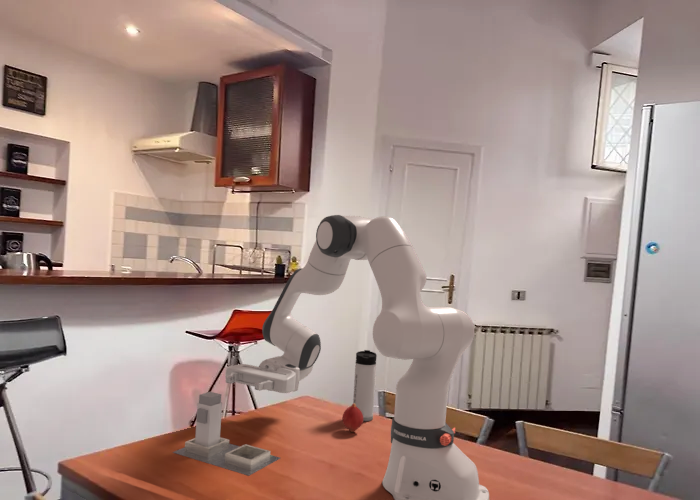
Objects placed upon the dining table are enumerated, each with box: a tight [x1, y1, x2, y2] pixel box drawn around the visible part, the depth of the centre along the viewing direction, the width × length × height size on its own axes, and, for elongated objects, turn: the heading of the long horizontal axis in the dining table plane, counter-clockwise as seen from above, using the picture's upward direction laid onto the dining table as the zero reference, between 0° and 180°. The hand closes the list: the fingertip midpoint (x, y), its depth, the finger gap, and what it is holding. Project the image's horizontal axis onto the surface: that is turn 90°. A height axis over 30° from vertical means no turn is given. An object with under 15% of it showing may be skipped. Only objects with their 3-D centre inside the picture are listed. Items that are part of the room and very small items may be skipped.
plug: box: [194, 391, 223, 447], centre depth 126 cm, size 4×5×13 cm
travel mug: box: [352, 349, 378, 422], centre depth 161 cm, size 6×7×20 cm
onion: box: [342, 402, 364, 433], centre depth 148 cm, size 6×6×8 cm
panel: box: [172, 436, 281, 477], centre depth 124 cm, size 22×12×3 cm, turn 63°
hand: (242, 383), depth 138 cm, fingers open, 8 cm apart
